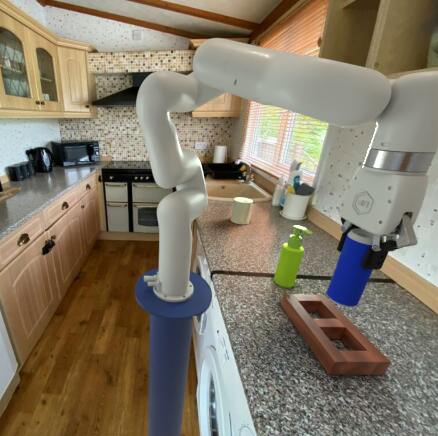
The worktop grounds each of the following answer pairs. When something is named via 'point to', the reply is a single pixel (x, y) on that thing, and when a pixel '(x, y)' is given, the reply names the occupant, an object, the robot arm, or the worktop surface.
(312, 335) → the holder
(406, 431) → the worktop surface
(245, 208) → the can
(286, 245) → the soap dispenser
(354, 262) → the beverage can
